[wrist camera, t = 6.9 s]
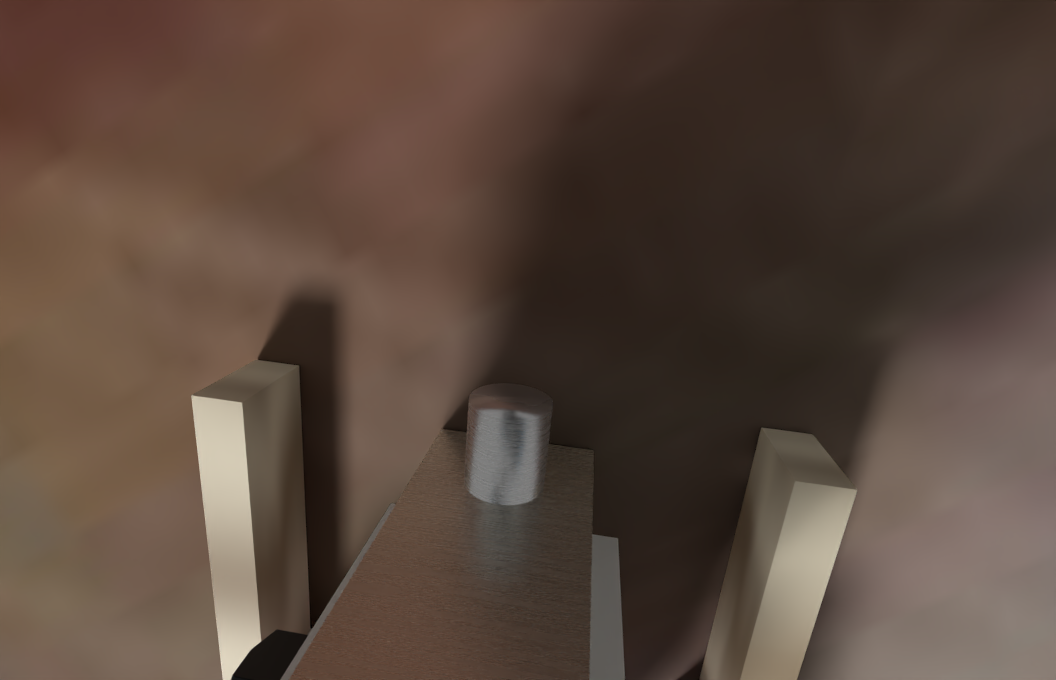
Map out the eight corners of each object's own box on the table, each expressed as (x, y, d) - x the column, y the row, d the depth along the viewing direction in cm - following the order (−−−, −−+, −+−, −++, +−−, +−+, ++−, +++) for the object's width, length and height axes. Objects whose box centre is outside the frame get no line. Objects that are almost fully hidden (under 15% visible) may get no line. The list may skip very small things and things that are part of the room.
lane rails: (256, 360, 14) (191, 395, 12) (812, 434, 13) (857, 490, 11) (274, 621, 17) (224, 691, 15) (736, 705, 16) (760, 795, 14)
